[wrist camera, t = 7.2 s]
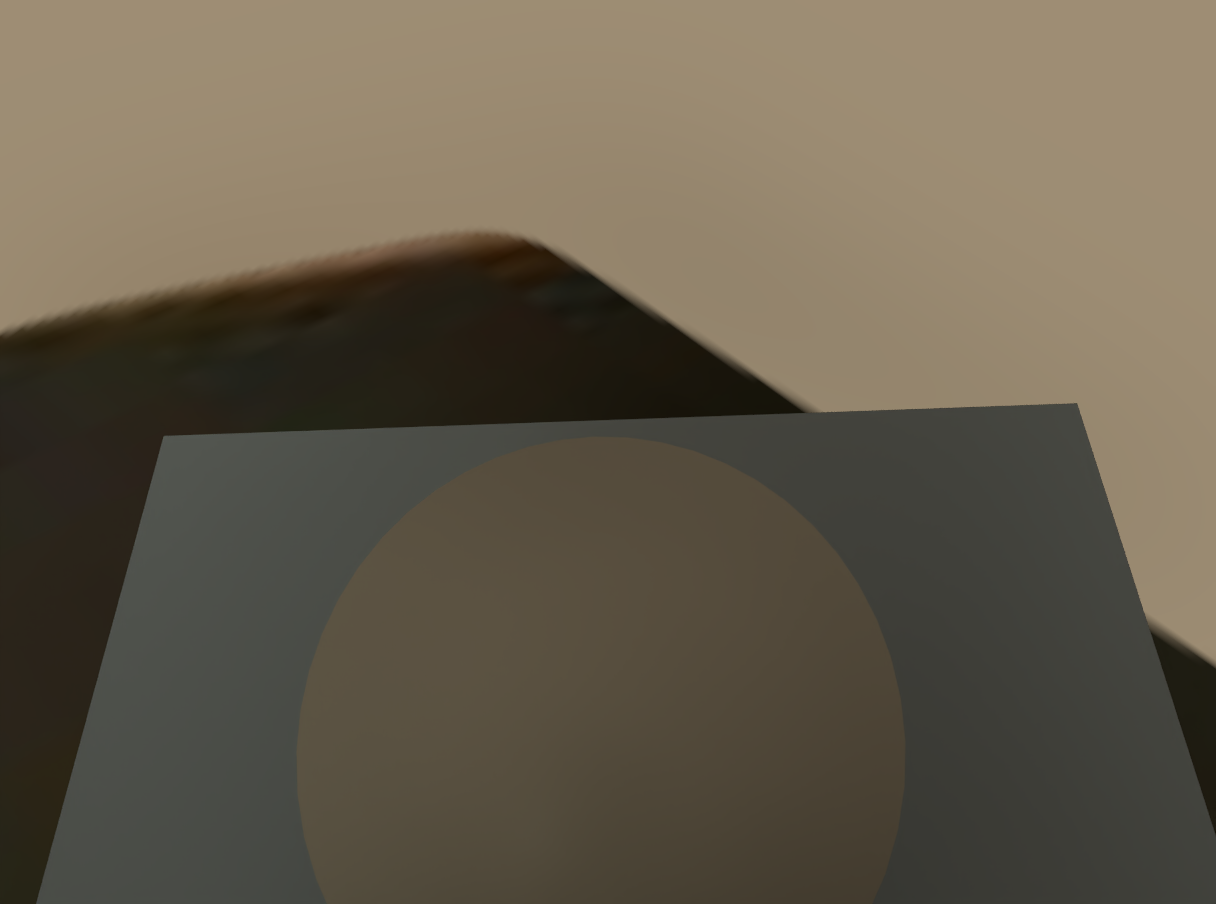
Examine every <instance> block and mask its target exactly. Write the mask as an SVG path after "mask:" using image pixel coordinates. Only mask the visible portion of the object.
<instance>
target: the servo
mask: <svg viewBox="0 0 1216 904" xmlns="http://www.w3.org/2000/svg"><path fill="white" fill-rule="evenodd" d="M36 904H1216V835H1215V832H1214V829H1213V826H1212V823H1211V820H1210V817H1209V814H1208V810H1207V807H1206V804H1205V801H1204V798H1203V795H1202V792H1201V789H1200V785H1199V782H1198V779H1197V776H1196V773H1195V770H1194V767H1193V764H1192V760H1191V757H1190V754H1189V751H1188V748H1187V745H1186V742H1185V739H1184V736H1183V732H1182V729H1181V726H1180V723H1179V720H1178V717H1177V714H1176V711H1175V707H1174V704H1173V701H1172V698H1171V695H1170V692H1169V689H1168V686H1167V682H1166V679H1165V676H1164V673H1163V670H1162V667H1161V664H1160V661H1159V658H1158V654H1157V651H1156V648H1155V645H1154V642H1153V639H1152V636H1151V633H1150V629H1149V626H1148V623H1147V620H1146V617H1145V614H1144V611H1143V608H1142V604H1141V602H1140V599H1139V595H1138V592H1137V589H1136V586H1135V583H1134V580H1133V577H1132V573H1131V570H1130V567H1129V564H1128V561H1127V558H1126V555H1125V551H1124V548H1123V545H1122V542H1121V539H1120V536H1119V533H1118V530H1117V527H1116V523H1115V520H1114V517H1113V514H1112V511H1111V508H1110V505H1109V502H1108V498H1107V496H1106V492H1105V489H1104V486H1103V483H1102V480H1101V477H1100V473H1099V470H1098V467H1097V464H1096V461H1095V458H1094V455H1093V452H1092V448H1091V446H1090V442H1089V439H1088V436H1087V433H1086V430H1085V427H1084V424H1083V421H1082V417H1081V415H1080V411H1079V408H1078V405H1077V403H1074V404H1048V405H1020V406H1019V405H1018V406H991V407H963V408H934V409H906V410H879V411H850V412H823V413H795V414H767V415H739V416H711V417H683V418H655V419H627V420H600V421H572V422H544V423H516V424H488V425H460V426H432V427H404V428H376V429H349V430H321V431H293V432H265V433H237V434H209V435H181V436H164V438H163V441H162V445H161V449H160V452H159V456H158V460H157V463H156V467H155V471H154V474H153V478H152V482H151V485H150V489H149V493H148V496H147V500H146V504H145V507H144V511H143V515H142V518H141V522H140V526H139V529H138V533H137V537H136V540H135V544H134V548H133V551H132V555H131V559H130V562H129V566H128V569H127V573H126V577H125V580H124V584H123V588H122V591H121V595H120V599H119V602H118V606H117V610H116V613H115V617H114V621H113V624H112V628H111V632H110V635H109V639H108V643H107V646H106V650H105V654H104V657H103V661H102V665H101V668H100V672H99V676H98V679H97V683H96V687H95V690H94V694H93V698H92V701H91V705H90V709H89V712H88V716H87V720H86V723H85V727H84V731H83V734H82V738H81V742H80V745H79V749H78V753H77V756H76V760H75V764H74V767H73V771H72V775H71V778H70V782H69V786H68V789H67V793H66V797H65V800H64V804H63V808H62V811H61V815H60V819H59V822H58V826H57V830H56V833H55V837H54V841H53V844H52V848H51V852H50V855H49V859H48V863H47V866H46V870H45V874H44V877H43V881H42V885H41V888H40V892H39V895H38V899H37V903H36Z"/></svg>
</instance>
